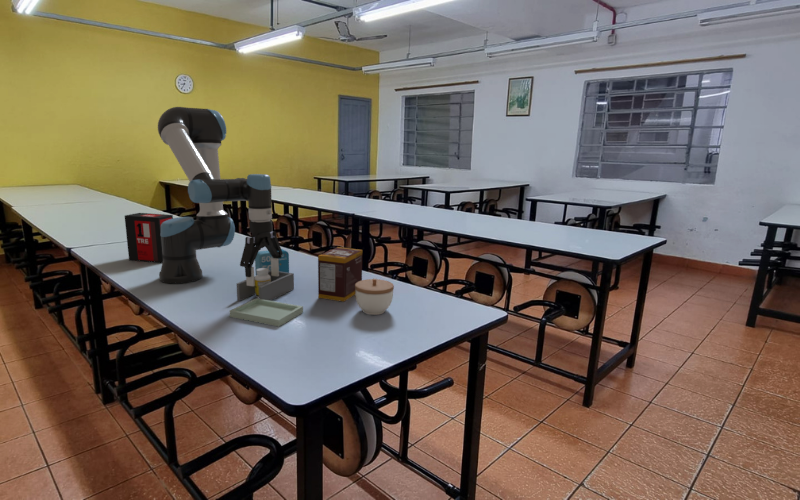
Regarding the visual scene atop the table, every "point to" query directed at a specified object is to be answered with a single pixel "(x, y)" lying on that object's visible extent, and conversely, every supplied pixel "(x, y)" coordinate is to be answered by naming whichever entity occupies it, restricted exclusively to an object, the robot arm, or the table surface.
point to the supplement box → (339, 273)
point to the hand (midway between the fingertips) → (263, 280)
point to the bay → (268, 287)
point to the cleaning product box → (145, 236)
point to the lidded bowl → (374, 295)
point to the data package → (265, 261)
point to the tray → (266, 312)
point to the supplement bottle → (261, 279)
